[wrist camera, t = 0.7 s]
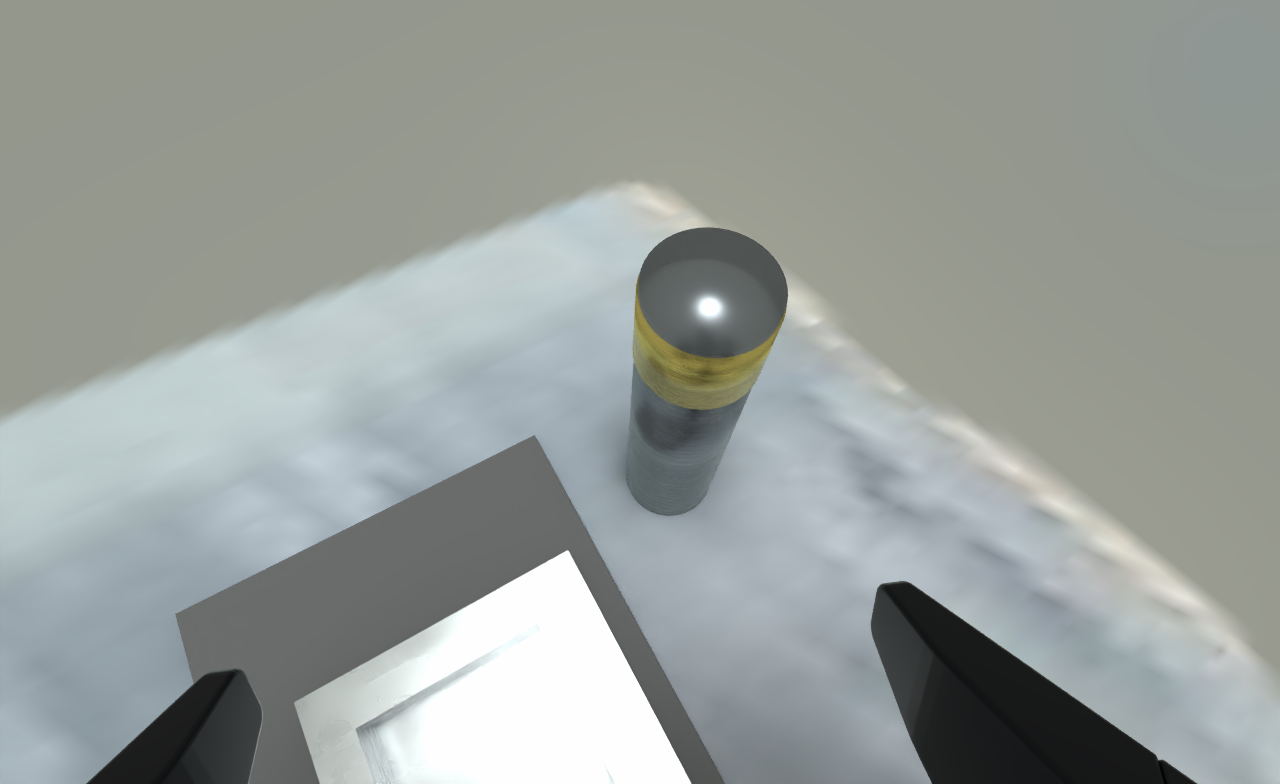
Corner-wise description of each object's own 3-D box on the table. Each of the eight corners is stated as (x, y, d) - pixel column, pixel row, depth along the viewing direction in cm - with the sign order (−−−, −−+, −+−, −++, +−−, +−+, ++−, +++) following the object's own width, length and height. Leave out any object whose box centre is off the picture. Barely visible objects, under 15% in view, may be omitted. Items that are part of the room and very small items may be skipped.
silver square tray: (713, 829, 21) (726, 844, 18) (415, 1044, 18) (387, 1092, 16) (569, 555, 24) (564, 538, 22) (304, 702, 22) (268, 701, 20)
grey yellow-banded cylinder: (727, 489, 26) (820, 312, 15) (653, 532, 25) (688, 379, 14) (682, 420, 28) (734, 206, 16) (609, 458, 27) (608, 261, 15)
